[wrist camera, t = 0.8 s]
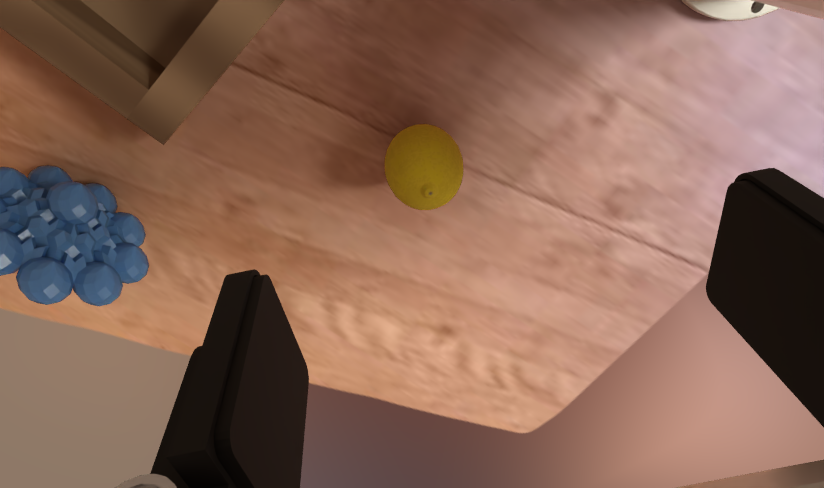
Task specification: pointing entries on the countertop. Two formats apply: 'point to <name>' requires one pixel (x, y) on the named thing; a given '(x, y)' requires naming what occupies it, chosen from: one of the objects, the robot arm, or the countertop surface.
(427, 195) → the lemon
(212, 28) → the shaker holder
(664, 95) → the countertop surface
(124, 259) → the grapes
